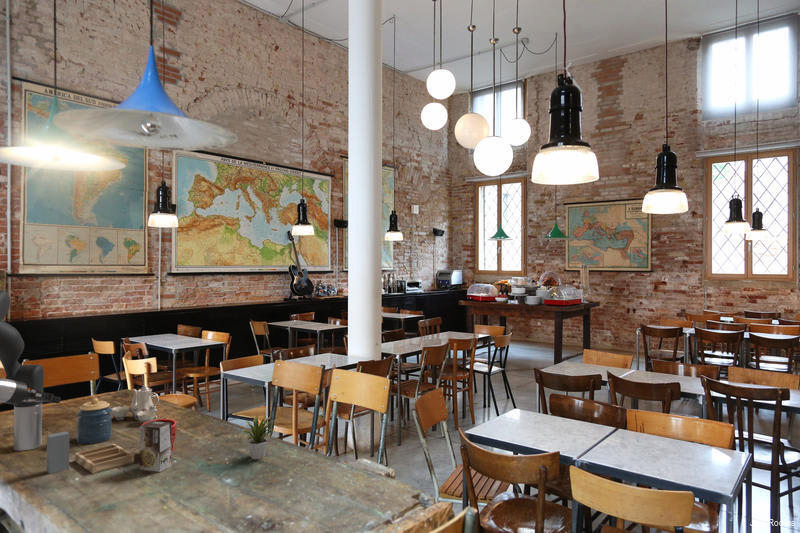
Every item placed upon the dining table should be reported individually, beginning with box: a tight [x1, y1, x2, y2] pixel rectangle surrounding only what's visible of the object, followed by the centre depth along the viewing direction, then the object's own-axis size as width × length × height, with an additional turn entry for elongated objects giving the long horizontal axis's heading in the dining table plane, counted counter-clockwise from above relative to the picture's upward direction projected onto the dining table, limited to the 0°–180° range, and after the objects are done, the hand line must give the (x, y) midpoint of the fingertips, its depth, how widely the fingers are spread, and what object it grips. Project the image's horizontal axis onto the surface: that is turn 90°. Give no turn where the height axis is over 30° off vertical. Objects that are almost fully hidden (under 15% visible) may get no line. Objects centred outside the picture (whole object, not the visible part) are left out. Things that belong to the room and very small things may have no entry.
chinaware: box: [110, 384, 160, 424], centre depth 246 cm, size 28×17×17 cm, turn 73°
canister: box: [75, 397, 113, 445], centre depth 217 cm, size 13×13×18 cm
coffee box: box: [139, 421, 172, 473], centre depth 188 cm, size 9×6×16 cm
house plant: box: [241, 414, 277, 460], centre depth 198 cm, size 14×14×16 cm
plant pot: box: [141, 418, 178, 453], centre depth 201 cm, size 13×13×12 cm
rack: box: [74, 443, 135, 475], centre depth 193 cm, size 18×14×3 cm
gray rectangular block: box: [46, 431, 70, 475], centre depth 185 cm, size 4×6×13 cm, turn 140°
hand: (51, 400), depth 186 cm, fingers open, 8 cm apart
